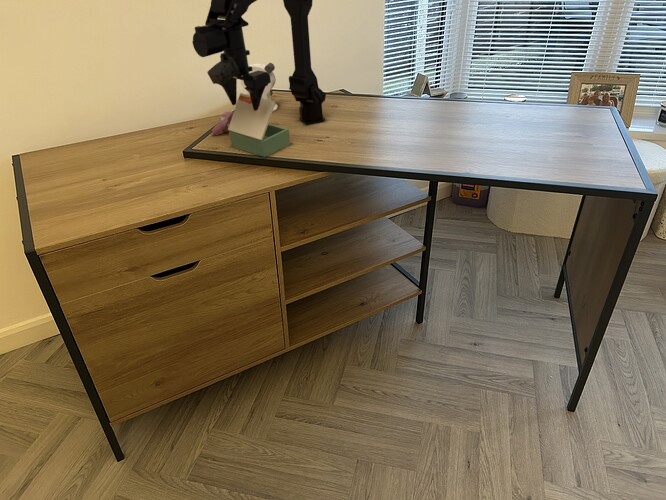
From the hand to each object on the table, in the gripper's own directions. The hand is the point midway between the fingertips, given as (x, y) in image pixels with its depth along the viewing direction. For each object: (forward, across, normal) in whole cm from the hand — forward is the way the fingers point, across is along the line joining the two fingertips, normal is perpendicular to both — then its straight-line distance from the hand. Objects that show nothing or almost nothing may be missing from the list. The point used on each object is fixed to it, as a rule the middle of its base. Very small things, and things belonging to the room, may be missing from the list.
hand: (244, 107), depth 133 cm
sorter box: (+12, 0, +3) cm, 13 cm away
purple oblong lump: (+13, -19, +6) cm, 24 cm away
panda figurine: (+12, -24, +26) cm, 37 cm away
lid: (+3, 0, +2) cm, 4 cm away
